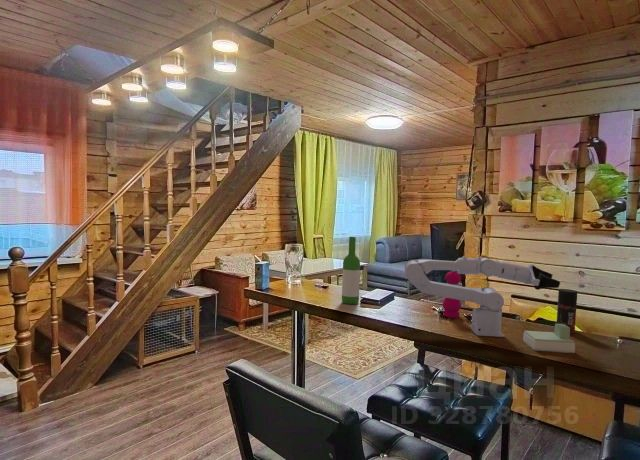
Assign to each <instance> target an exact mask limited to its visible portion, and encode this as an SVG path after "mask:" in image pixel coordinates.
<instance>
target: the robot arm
mask: <svg viewBox="0 0 640 460" xmlns="http://www.w3.org/2000/svg"><path fill="white" fill-rule="evenodd" d="M451 270H456V271H455V272H457V273H459V274H460V275H479V274H482V275H484V276H486V277H492V276H493V277H496V278H498V279H499V278H500V279H505V280H509V281H512V282H513V281H514V282H519V283H523V284H525V285H532V286H533V287H534V289H535V290H542V289H558V288H559V287H560V285H561V282H560V281H559V280H557V279H555V278H553V276H554V275H553V273H551V272H547V271H545V270H543V269H541V268H538V267H536V266H535V265H534V264H532V263H529V264H528V266H525V265H522V264H521V265H520V264H515V263H510V262H507V261H499V260H492V259H490V258H488V257H484V256H483V257H480V256H478V257H476V258H474V257H470V258H469V257H467V256H466V255H465V256H462V257H458V258H457V259H456V260H455V261H454V260H443V259H442V260H440V259H417V260H415V259H411V260H409V261H407V262H406V263H405V265H404V271H405V276H406V278H407V280H408V282H409V283H410V284H412V285H413V286H414V287H415V288H416V289H417V290H418V291H419V292H421V294H427V295H431V296H436V297H441V298H445V297H447V298H452V299H458V300H460V301H464V302H470V303H473V304H477V305H479V307H473V308H472V314H471V327H470V329H471V331H472V332H473V333H474V334H475V336H483V337H498V338H505V335H504V334H503V332H502V331H501V330H502V318H503V317H502V315H503V308H502V307H503V306H504V304H505V299H504V297H503V295H502V294H500V293H499V292H497V290H496V289H494V288H493V287H486V288H478V287H476V288H472V287H467V286H461V285H459V286H456V285H451V284H446V283H445V282H444V283H443V282H437V281H434V280H433V281H432V280H429V278H428V276H427V275H428V274H430V272H432V271H451ZM559 289H560V288H559Z"/></svg>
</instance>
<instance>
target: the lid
mask: <svg viewBox="0 0 640 460" xmlns="http://www.w3.org/2000/svg"><path fill="white" fill-rule="evenodd" d="M524 333H526V334H527V335H528V336H529V337H531V338H532V339H533V340H534V341H542V342H557V343H573V344H574V343H575V341H574V340H573V339H571V338H570V336H571V333H570V327H568V326H566V325H565V324H556V323H554V332H553V331H552V332H550V331H538V330H537V331H536V330H535V331H534V330H524V332H523V334H524Z"/></svg>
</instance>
